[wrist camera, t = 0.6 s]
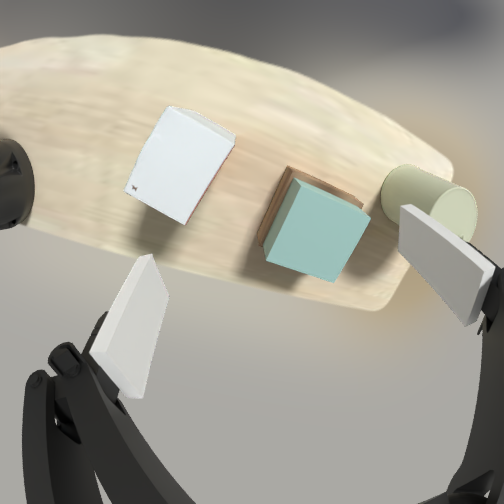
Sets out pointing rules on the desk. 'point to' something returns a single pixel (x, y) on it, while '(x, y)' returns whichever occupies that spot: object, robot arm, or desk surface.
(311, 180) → the bottom slab
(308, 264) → the top slab
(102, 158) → the desk surface
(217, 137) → the small box
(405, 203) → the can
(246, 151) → the desk surface
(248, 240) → the desk surface
